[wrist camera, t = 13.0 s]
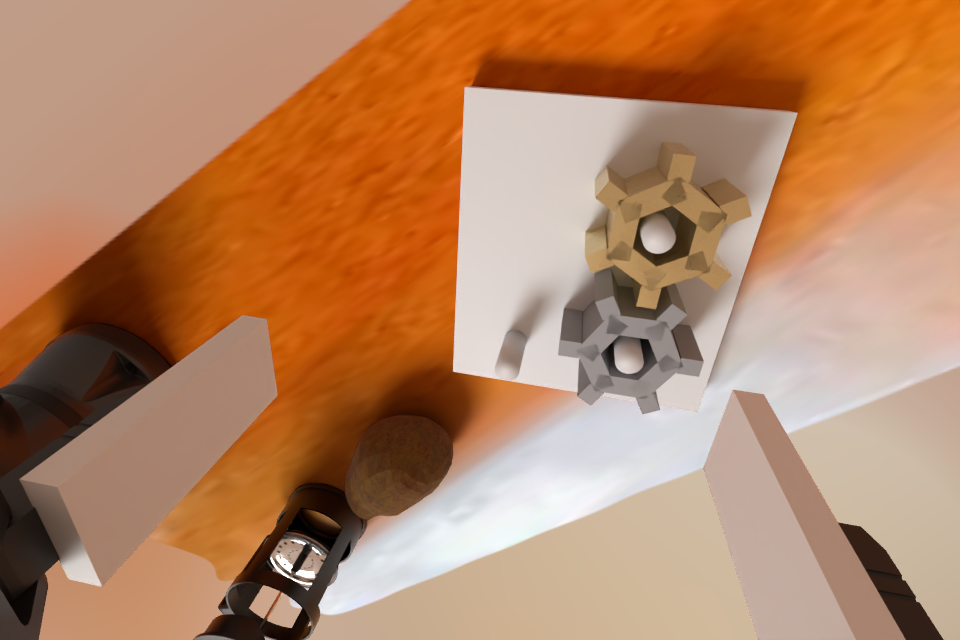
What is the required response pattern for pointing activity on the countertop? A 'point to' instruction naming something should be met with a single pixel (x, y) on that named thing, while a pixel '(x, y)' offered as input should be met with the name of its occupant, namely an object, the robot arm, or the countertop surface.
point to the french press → (290, 568)
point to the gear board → (561, 241)
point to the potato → (397, 465)
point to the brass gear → (693, 233)
